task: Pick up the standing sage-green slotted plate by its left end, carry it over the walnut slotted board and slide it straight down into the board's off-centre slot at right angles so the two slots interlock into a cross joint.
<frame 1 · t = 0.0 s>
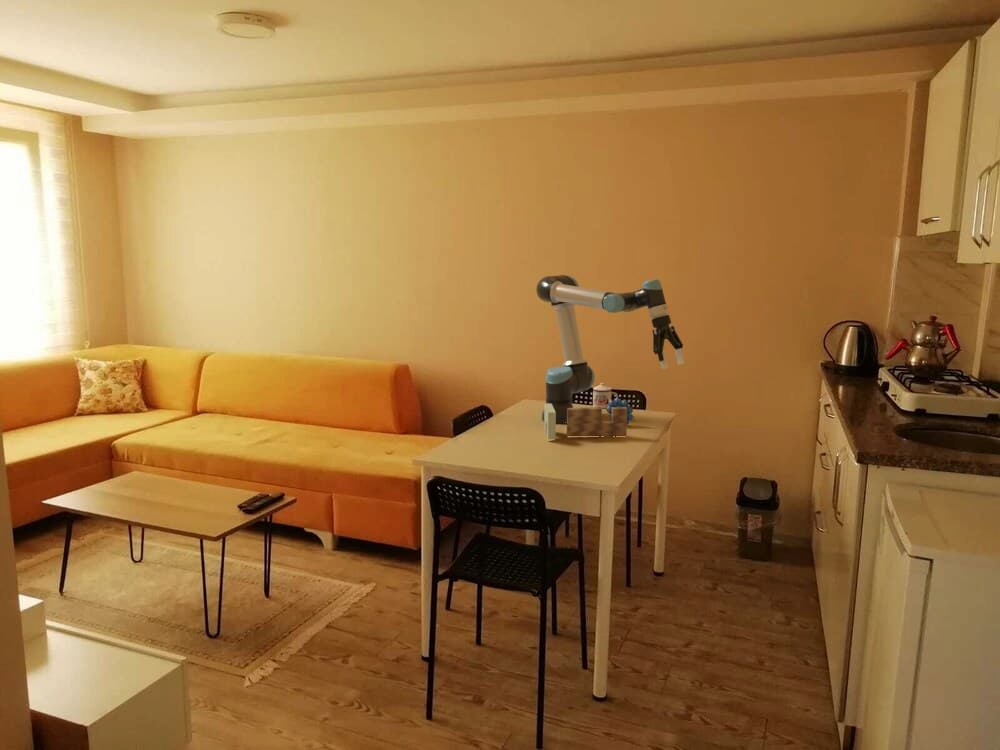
hand: (673, 366, 299), 28 cm above the table, tool tilted 20°, fingers open, 13 cm apart
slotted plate: (549, 436, 299), on the table
grapes: (619, 425, 316), on the table
teacup with lid: (605, 407, 352), on the table
slotted board: (596, 436, 298), on the table
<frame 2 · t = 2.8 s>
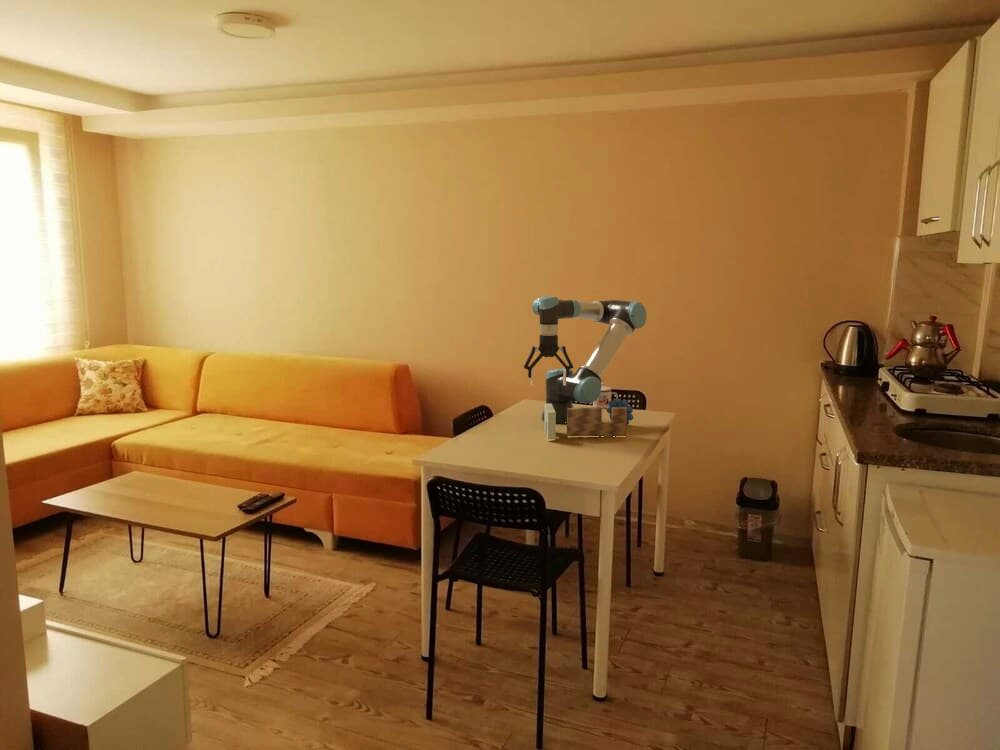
hand: (548, 385, 301), 20 cm above the table, tool pointing down, fingers open, 13 cm apart
nothing on the table moved.
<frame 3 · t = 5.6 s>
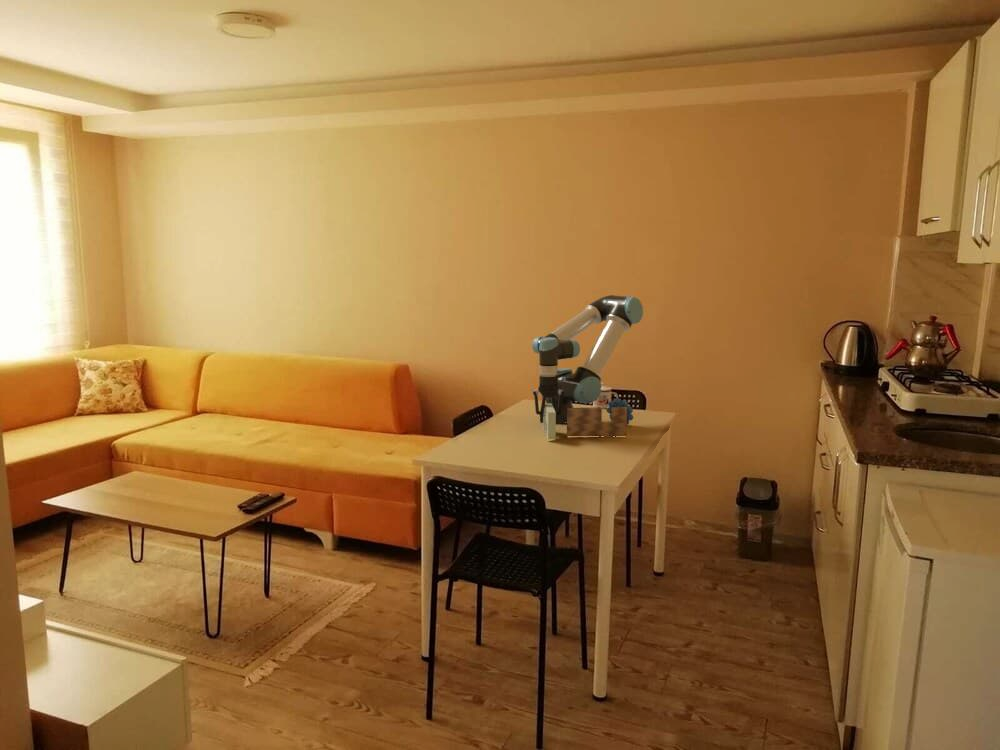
hand: (548, 430, 305), 1 cm above the table, tool pointing down, fingers closed on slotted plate, 3 cm apart
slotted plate: (549, 436, 299), on the table, touching gripper
everything else where it was.
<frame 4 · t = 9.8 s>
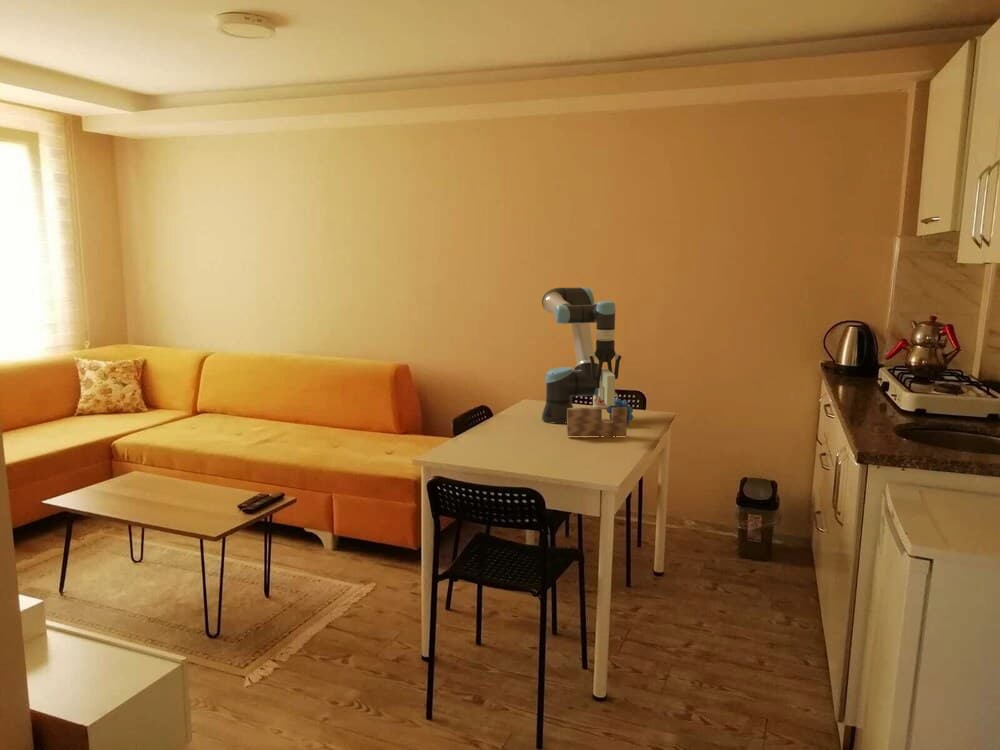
hand: (604, 395, 301), 16 cm above the table, tool pointing down, fingers closed on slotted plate, 3 cm apart
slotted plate: (607, 401, 295), point 15 cm above the table, touching gripper
everything else where it was.
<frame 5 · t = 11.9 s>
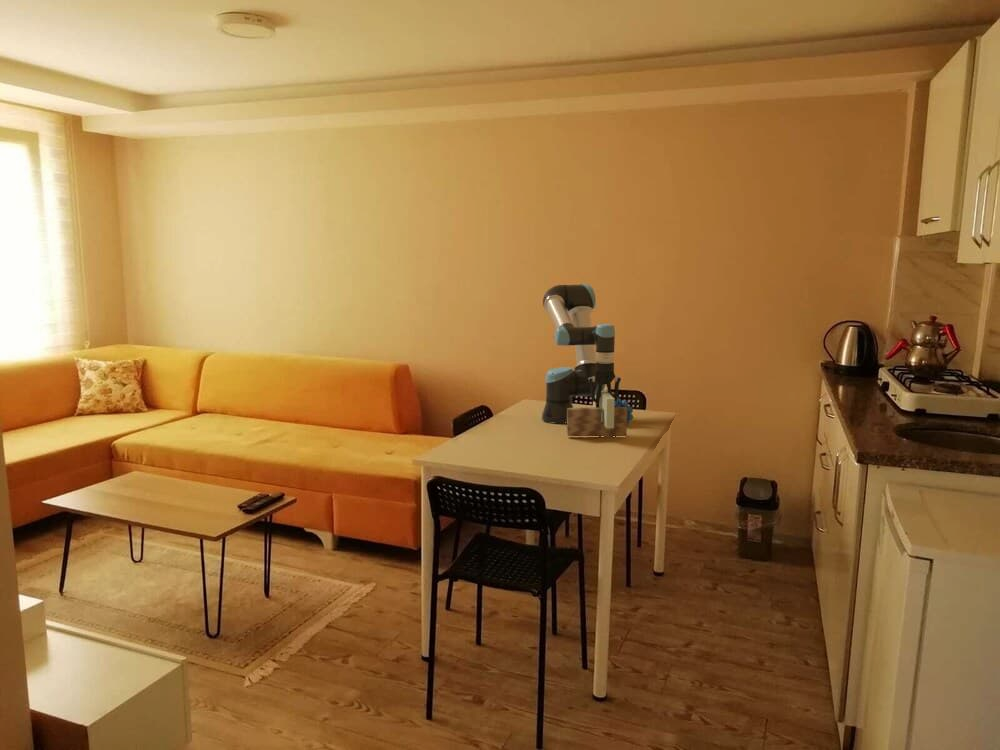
hand: (603, 417, 302), 7 cm above the table, tool pointing down, fingers closed on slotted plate, 3 cm apart
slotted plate: (606, 423, 296), point 6 cm above the table, touching gripper
everything else where it was.
when the fingers open (2 cm above the table, at t = 14.0 s): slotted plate stays where it is, resting on slotted board.
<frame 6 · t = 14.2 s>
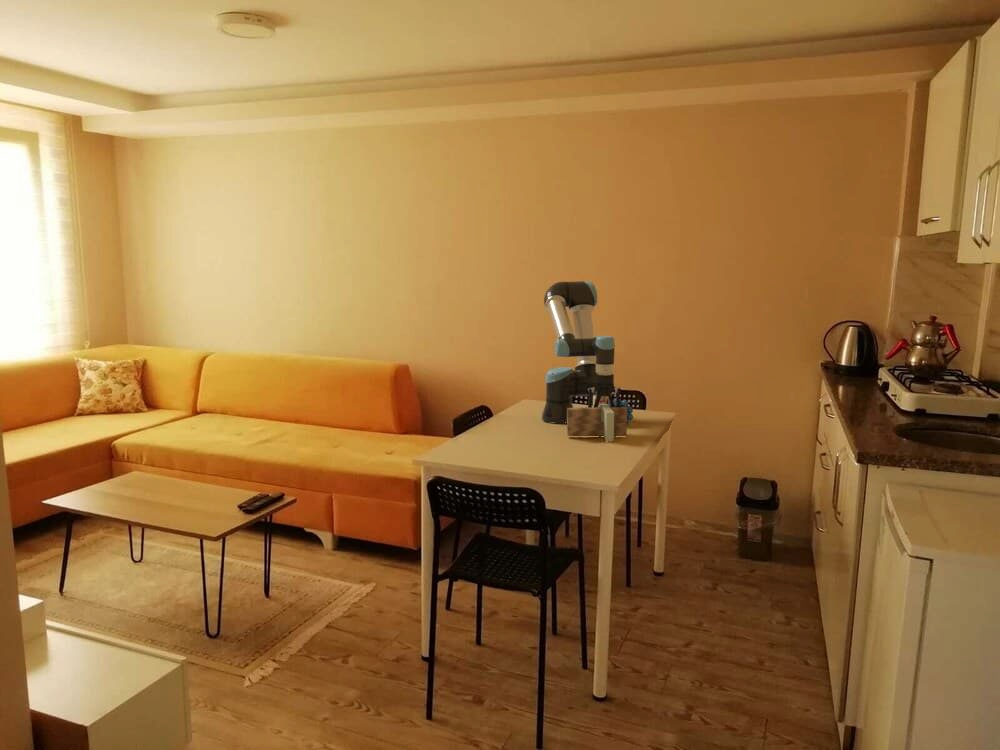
hand: (603, 428, 303), 2 cm above the table, tool pointing down, fingers open, 6 cm apart
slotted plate: (606, 436, 298), resting on slotted board
everything else where it was.
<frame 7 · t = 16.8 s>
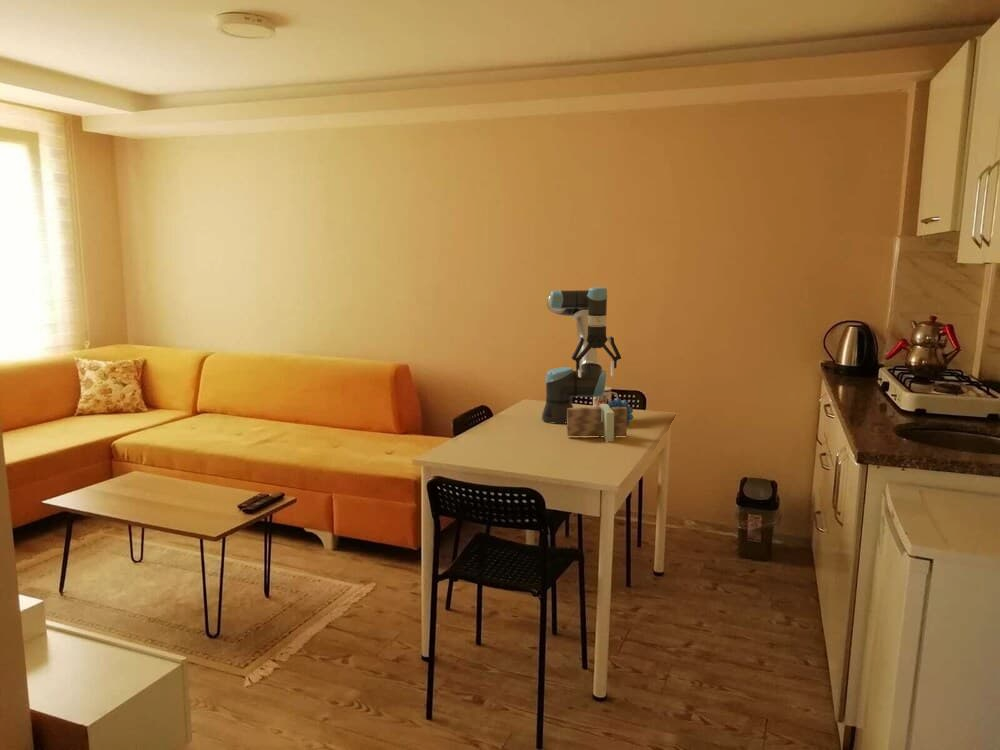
hand: (596, 376, 300), 24 cm above the table, tool pointing down, fingers open, 13 cm apart
nothing on the table moved.
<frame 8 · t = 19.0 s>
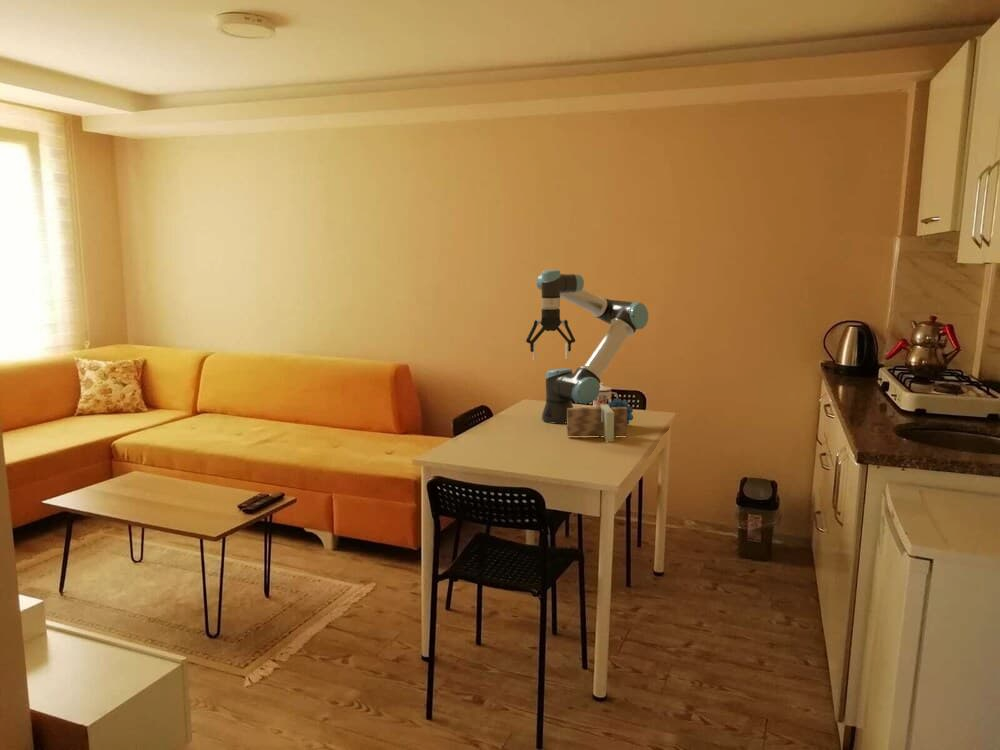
hand: (550, 359, 301), 31 cm above the table, tool pointing down, fingers open, 13 cm apart
nothing on the table moved.
at the end: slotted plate 0.1 cm from the target spot on the slotted board, point 0.0 cm above the slotted board's base; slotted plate tilted 0°; the gripper is holding nothing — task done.
